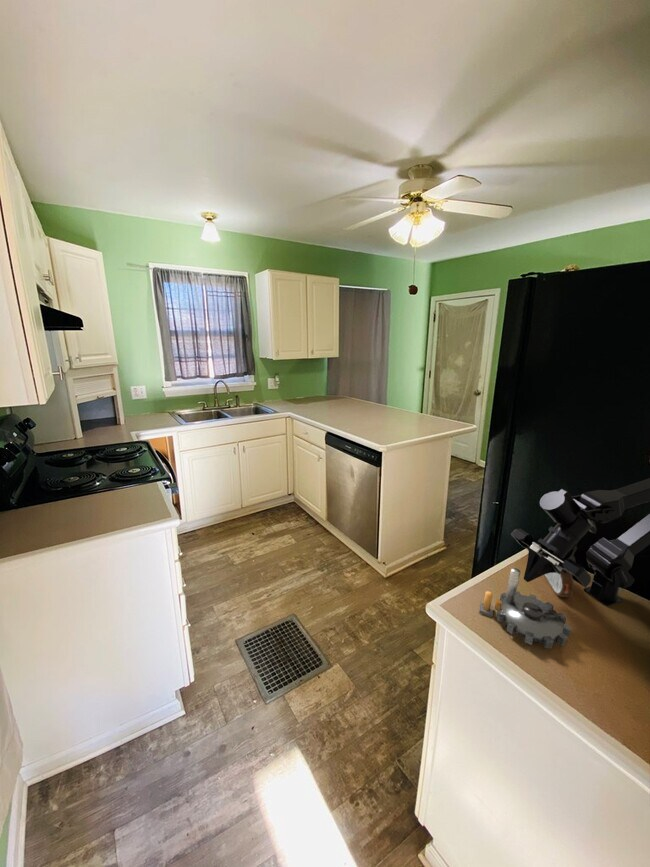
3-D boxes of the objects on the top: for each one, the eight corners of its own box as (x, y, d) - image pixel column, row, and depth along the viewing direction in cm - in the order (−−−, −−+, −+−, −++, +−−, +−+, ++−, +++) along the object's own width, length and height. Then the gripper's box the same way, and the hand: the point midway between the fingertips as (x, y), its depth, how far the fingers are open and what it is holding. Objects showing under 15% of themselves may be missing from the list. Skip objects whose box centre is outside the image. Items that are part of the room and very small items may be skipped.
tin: (571, 604, 92) (578, 576, 90) (557, 602, 93) (564, 574, 91) (548, 568, 107) (553, 544, 104) (536, 567, 107) (542, 542, 105)
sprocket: (499, 589, 95) (505, 554, 92) (567, 614, 87) (577, 576, 84) (490, 627, 82) (497, 588, 80) (569, 660, 75) (581, 618, 72)
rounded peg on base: (492, 609, 90) (496, 591, 88) (492, 617, 87) (495, 599, 86) (479, 605, 91) (483, 587, 90) (479, 612, 89) (482, 595, 87)
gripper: (617, 571, 84) (573, 621, 83) (546, 531, 101) (510, 572, 100) (600, 548, 79) (554, 601, 79) (529, 510, 96) (491, 553, 96)
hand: (525, 580), depth 88 cm, fingers closed
